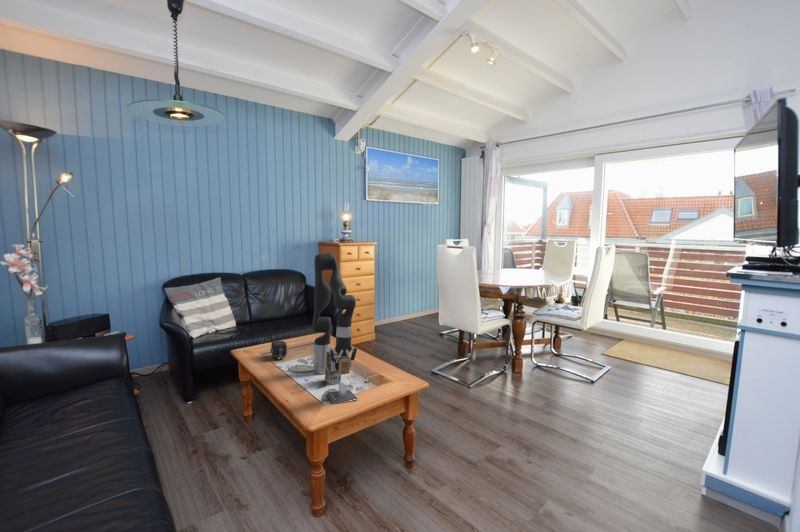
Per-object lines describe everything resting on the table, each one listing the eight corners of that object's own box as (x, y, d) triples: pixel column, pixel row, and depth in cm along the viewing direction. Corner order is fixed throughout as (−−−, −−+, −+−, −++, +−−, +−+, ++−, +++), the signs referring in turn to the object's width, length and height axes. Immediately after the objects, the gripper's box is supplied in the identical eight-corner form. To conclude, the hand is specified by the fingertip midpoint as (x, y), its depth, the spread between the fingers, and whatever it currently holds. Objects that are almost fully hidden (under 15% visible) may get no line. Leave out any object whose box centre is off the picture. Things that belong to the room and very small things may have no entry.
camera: (288, 361, 241) (283, 353, 254) (289, 344, 240) (284, 337, 253) (272, 363, 236) (267, 355, 249) (273, 346, 235) (268, 338, 247)
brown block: (335, 370, 182) (336, 353, 182) (345, 369, 184) (345, 352, 184) (339, 374, 176) (340, 357, 176) (349, 373, 178) (350, 356, 178)
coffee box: (341, 383, 201) (342, 354, 200) (329, 385, 198) (330, 355, 197) (335, 378, 209) (336, 350, 208) (324, 379, 206) (325, 351, 205)
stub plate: (326, 395, 183) (327, 381, 183) (349, 391, 189) (349, 379, 189) (333, 404, 173) (333, 390, 172) (357, 400, 178) (357, 387, 178)
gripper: (355, 333, 186) (353, 365, 187) (327, 334, 180) (326, 368, 180) (360, 336, 180) (358, 370, 180) (331, 337, 173) (330, 373, 174)
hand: (342, 369), depth 180 cm, fingers closed on brown block, 5 cm apart
